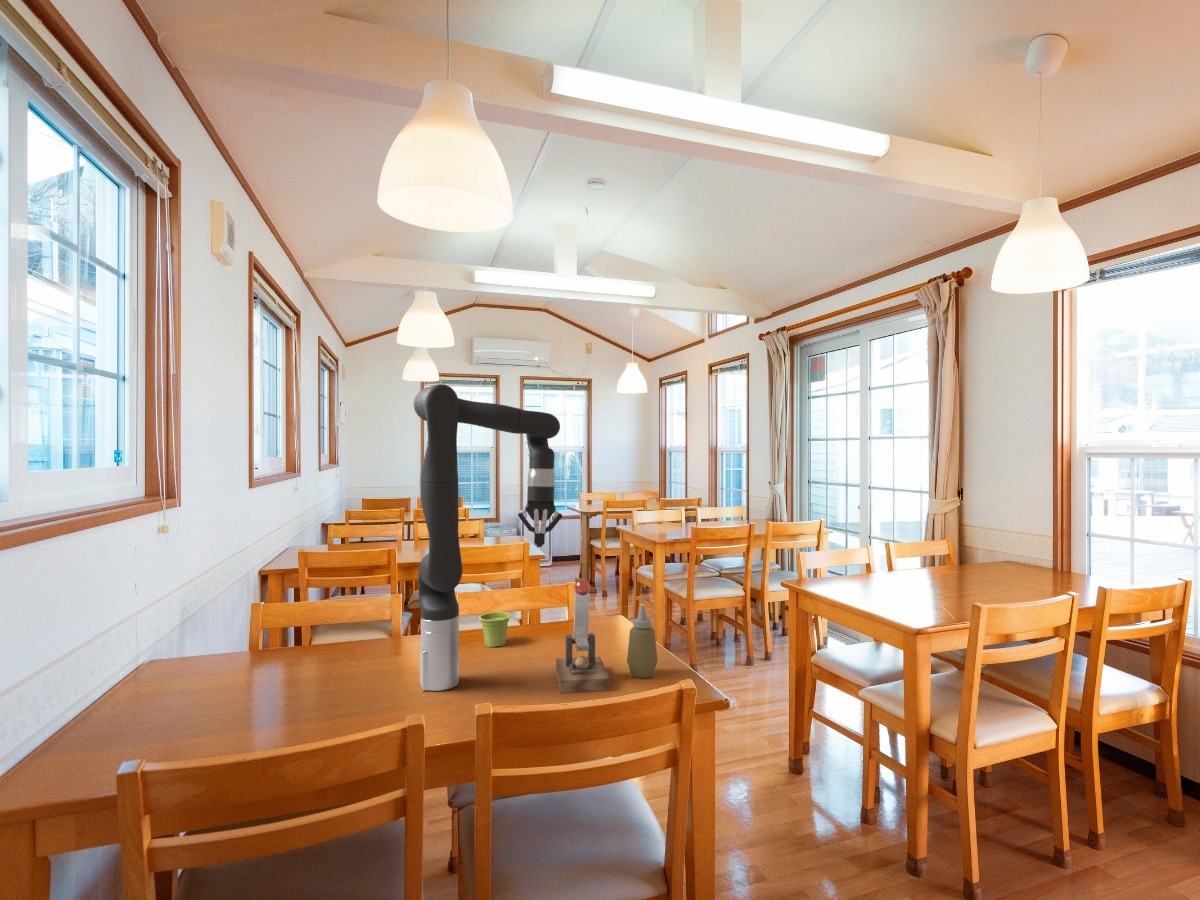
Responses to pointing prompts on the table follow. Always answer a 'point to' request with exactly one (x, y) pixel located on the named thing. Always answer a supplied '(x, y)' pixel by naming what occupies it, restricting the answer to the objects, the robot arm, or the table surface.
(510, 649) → the table surface
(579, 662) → the walnut
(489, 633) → the plant pot
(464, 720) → the table surface
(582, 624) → the lever
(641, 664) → the squeeze bottle
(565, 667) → the nutcracker base
